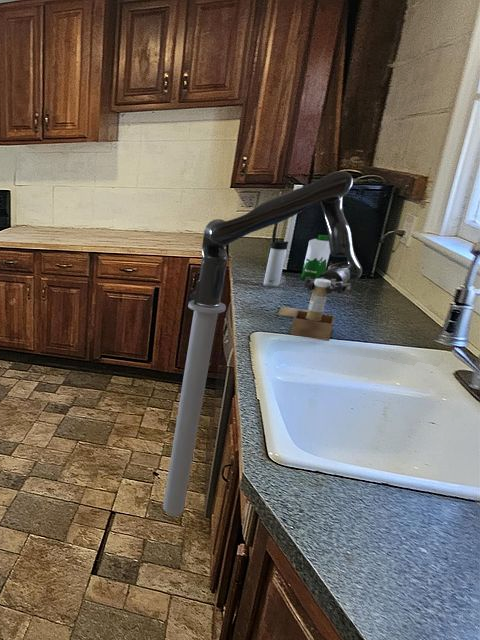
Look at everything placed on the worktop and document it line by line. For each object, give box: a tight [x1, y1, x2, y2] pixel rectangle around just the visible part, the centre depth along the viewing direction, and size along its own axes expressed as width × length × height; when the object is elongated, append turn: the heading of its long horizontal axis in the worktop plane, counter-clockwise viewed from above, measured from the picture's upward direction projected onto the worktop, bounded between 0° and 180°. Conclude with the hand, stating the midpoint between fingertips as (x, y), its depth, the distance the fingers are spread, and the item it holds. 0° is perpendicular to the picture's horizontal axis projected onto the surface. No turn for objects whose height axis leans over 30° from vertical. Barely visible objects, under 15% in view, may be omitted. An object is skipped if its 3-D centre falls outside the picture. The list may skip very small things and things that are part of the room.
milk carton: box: [300, 234, 331, 281], centre depth 242 cm, size 9×9×20 cm
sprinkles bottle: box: [306, 279, 331, 321], centre depth 172 cm, size 5×5×14 cm
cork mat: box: [276, 306, 308, 319], centre depth 195 cm, size 12×12×1 cm
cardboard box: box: [289, 310, 336, 342], centre depth 175 cm, size 11×11×6 cm
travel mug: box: [262, 241, 289, 289], centre depth 230 cm, size 6×7×20 cm
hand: (319, 289), depth 168 cm, fingers closed on sprinkles bottle, 4 cm apart
